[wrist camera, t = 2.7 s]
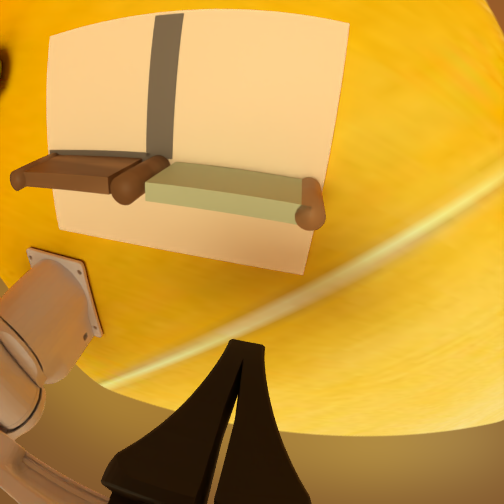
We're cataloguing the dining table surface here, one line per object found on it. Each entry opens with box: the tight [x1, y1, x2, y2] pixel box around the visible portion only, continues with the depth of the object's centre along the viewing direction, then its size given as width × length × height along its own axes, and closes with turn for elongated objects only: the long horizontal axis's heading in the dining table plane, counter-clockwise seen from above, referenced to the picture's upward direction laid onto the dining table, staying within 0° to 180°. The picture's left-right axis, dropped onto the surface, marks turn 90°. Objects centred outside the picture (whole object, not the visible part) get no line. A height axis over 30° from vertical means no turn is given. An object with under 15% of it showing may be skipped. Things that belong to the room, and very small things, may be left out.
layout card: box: [47, 9, 349, 275], centre depth 17 cm, size 16×20×1 cm
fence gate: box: [145, 162, 326, 231], centre depth 15 cm, size 9×1×4 cm, turn 84°
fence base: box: [10, 153, 170, 205], centre depth 16 cm, size 2×11×4 cm, turn 83°
